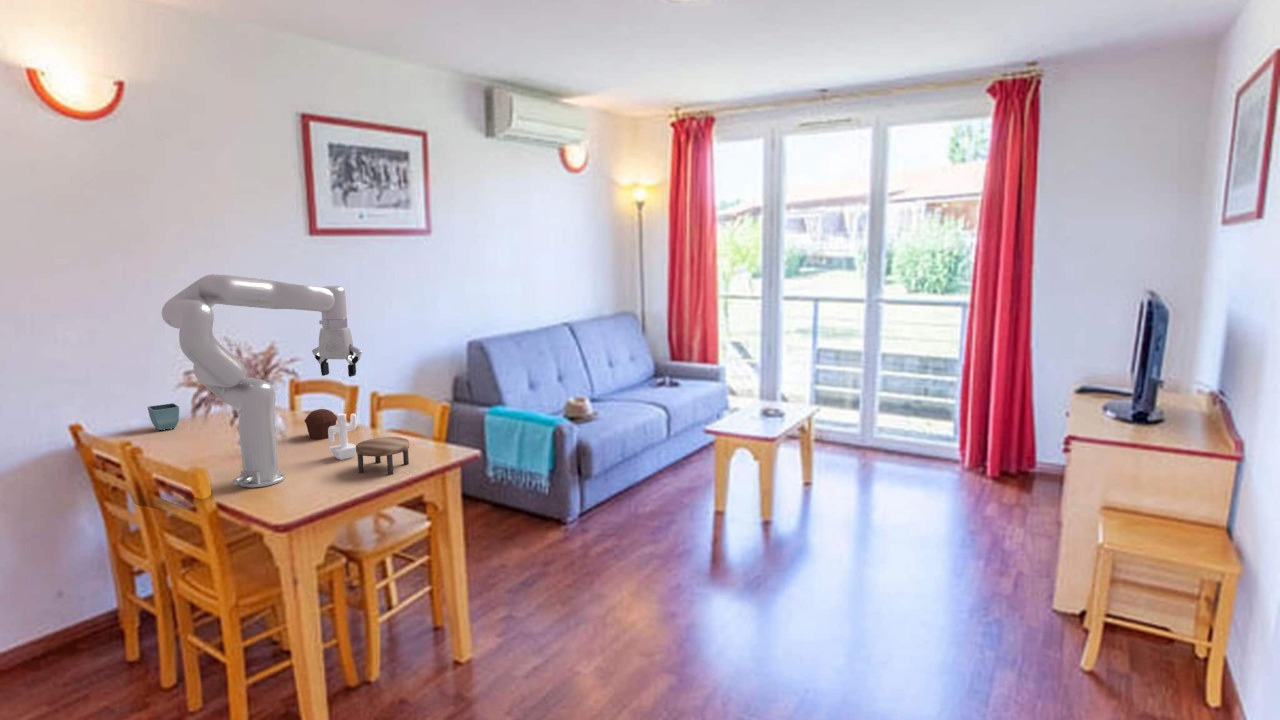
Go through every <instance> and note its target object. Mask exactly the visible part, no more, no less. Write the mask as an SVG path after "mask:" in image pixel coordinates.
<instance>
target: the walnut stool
mask: <svg viewBox="0 0 1280 720" xmlns="http://www.w3.org/2000/svg"><path fill="white" fill-rule="evenodd" d="M355 445H356V454H357V455H356V456H357V467H358V469H357V470H358V473H359V474H362V473H364V472H365V467H364V466H365V465H364V464H365V463H364V456H365V457H374V459H375V464H380V463H381V460H382V459H381V457H386V464H387V465H386V466H387V475H388V476H389V475H390V476H392V475H394V464H393V455H398V454H400V453H402V455H403V456H402V457H403V465H404V466H407V465H409V463H410V462H409V461H410V460H409V449H410V441H409V440H408V439H407V438H405V437H398V436H397V437H396V436H393V437H392V436H385V437H383V436H382V437H375V438H371V439H370V438H369V439H367V440H362V441H360V442H359V443H357V444H355Z"/></svg>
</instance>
